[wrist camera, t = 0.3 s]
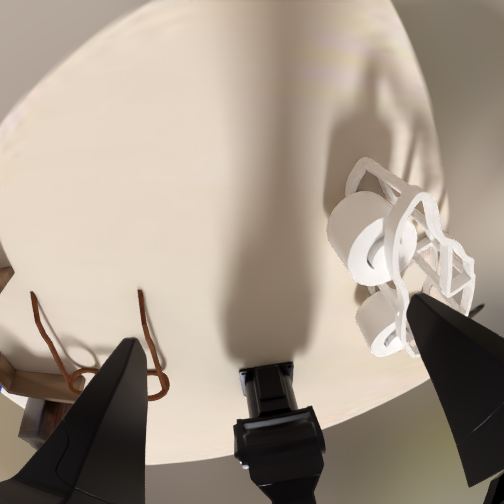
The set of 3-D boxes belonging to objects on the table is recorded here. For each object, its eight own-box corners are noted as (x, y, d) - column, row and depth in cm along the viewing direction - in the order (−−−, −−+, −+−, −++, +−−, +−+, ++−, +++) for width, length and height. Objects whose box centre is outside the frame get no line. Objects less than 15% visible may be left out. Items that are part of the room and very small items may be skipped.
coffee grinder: (26, 391, 32) (6, 479, 17) (54, 382, 31) (32, 490, 16) (90, 430, 41) (83, 509, 26) (125, 426, 39) (121, 517, 24)
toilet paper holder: (302, 184, 20) (341, 232, 14) (417, 133, 19) (481, 160, 13) (356, 333, 31) (380, 382, 25) (433, 291, 30) (464, 332, 24)
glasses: (76, 366, 29) (68, 397, 25) (31, 288, 22) (12, 322, 18) (171, 369, 31) (169, 405, 27) (144, 284, 24) (135, 326, 20)
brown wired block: (85, 379, 30) (80, 404, 27) (15, 373, 29) (8, 393, 26) (11, 266, 20) (-8, 292, 17) (-51, 278, 19) (-66, 298, 16)
